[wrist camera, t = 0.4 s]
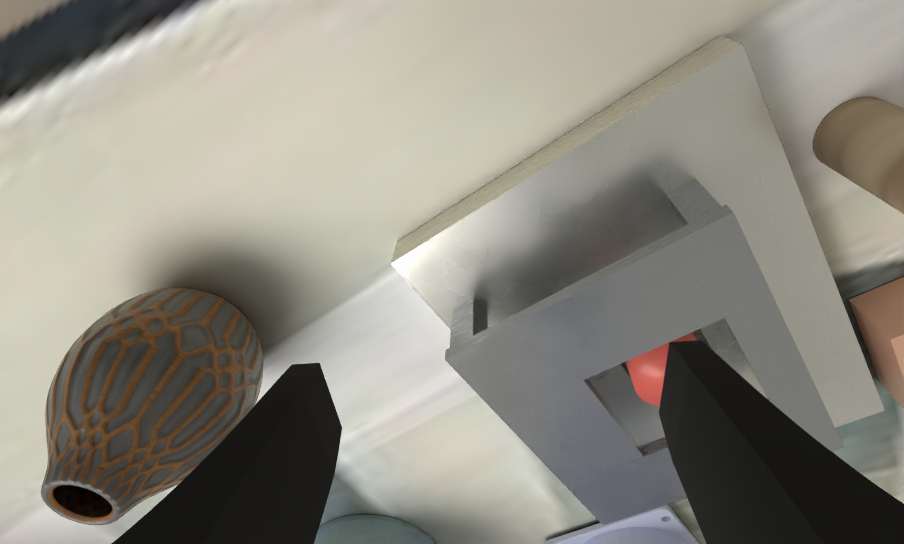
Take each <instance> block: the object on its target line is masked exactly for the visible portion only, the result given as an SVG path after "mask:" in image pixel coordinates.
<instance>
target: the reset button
mask: <svg viewBox="0 0 904 544" xmlns="http://www.w3.org/2000/svg"><path fill="white" fill-rule="evenodd" d="M696 340H697V339H696V337H695V335H694V334H693V332H691V333H689V334H687V335H685V336H682V337H680V338H678V339H676V340H673V341H671V342H679V341H696ZM668 348H669V343H667V344H664V345H662V346H660V347H657V348H655V349H653V350H651V351H648V352H646V353H644V354H642V355H639V356H637V357H635V358H633V359H630V360H628V361H626V362H625V363H626V366H627V368H628V371H629V374H630V377H631V380H632V382H633V385H634V388H635V391H636V393H637V395H638V396H639V397H640V398H641V399H642V400H643V401H645V402H647V403H649V404H652V405H656V406H660V401H661V394H662V388H663V381H664V374H665V368H666V361H667V354H668Z"/></svg>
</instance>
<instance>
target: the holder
mask: <svg viewBox="0 0 904 544" xmlns="http://www.w3.org/2000/svg"><path fill="white" fill-rule="evenodd" d="M849 302H850V305H851V308H852V310H853V313H854V316H855V318H856V321H857V324H858V326H859V329H860V332H861V334H862V337H863V339H864V342H865V345H866V347H867V350H868V353H869V355H870V358H871V361H872V363H873V366H874V368H875V371H876V374H877V376H878V379H879V382H880V383H881V384H882V385H883V386H884V387H885V388H886V389H887V390H888V391H889V392H890V394H891V395H892V396H893V397H894V398H895V399H896V400H897V401H898V402H899V403H900V404H901V406H902V407H903V408H904V277H902V278H899V279H897V280H894V281H892V282H890V283H887V284H885V285H882V286H880V287H878V288H875V289H873V290H871V291H868V292H866V293H863V294H861V295H859V296H856V297H854V298H851V299H849Z"/></svg>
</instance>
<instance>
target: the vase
mask: <svg viewBox="0 0 904 544" xmlns="http://www.w3.org/2000/svg"><path fill="white" fill-rule="evenodd" d="M262 378H263V353H262V347H261V343H260V340H259V338H258V336H257V334H256V331H255V329H254V328H253V326H252V324H251V323H250V322H249V320H248V319H247V318H246V317H245V316H244V315H243V313H242V312H241V311H240V310H238V309H237V308H236V307H235V306H234V305H232V304H231V303H229V302H228V301H226V300H224V299H223V298H221V297H219V296H216V295H214V294H211V293H208V292H204V291H200V290H195V289H188V288H168V289H159V290H155V291H151V292H148V293H144V294H141V295H139V296H136V297H134V298H132V299H130V300H127V301H125V302H123V303H122V304H120V305H118V306H116V307H115V308H113V309H111V310H110V311H108V312H107V313H106V314H104V315H103V316H102V317H101V318H99V319H98V320H97V321H96V322H95V323H93V324H92V325H91V326H90V327H89V328H88V329H87V330H86V331H85V332H84V333H83V334H82V335H81V336H80V337H79V338H78V339H77V340H76V341H75V343H74V344H73V345H72V347H71V348H70V349H69V351H68V352H67V354H66V355H65V357H64V359H63V360H62V362H61V364H60V366H59V368H58V370H57V372H56V374H55V376H54V378H53V381H52V383H51V386H50V389H49V393H48V397H47V402H46V411H45V418H46V437H47V448H48V465H47V470H46V474H45V478H44V481H43V485H42V489H41V495H42V498H43V500H44V502H45V503H46V504H47V505H48V506H49V507H50V508H51V509H52V510H53V511H55V512H56V513H58V514H59V515H61V516H63V517H65V518H67V519H70V520H72V521H75V522H79V523H83V524H89V525H104V524H109V523H112V522H114V521H116V520H118V519H119V518H121V517H122V516H123V515H124V514H126V513H127V512H128V511H129V510H131V509H132V508H133V507H135V506H136V505H137V504H139V503H140V502H142V501H144V500H145V499H147V498H149V497H151V496H154V495H156V494H158V493H160V492H163V491H165V490H167V489H169V488H171V487H173V486H176V485H178V484H180V483H181V482H182V481H183V480H184V479H185V478H186V477H187V476H188V475H189V474H190V473H191V472H192V471H193V470H194V469H195V468H196V467H197V466H198V465H199V464H200V463H201V462H202V461H203V460H204V459H205V458H206V457H207V456H208V455H209V454H210V453H211V452H212V451H213V450H214V449H215V448H216V447H217V446H218V445H219V444H220V443H221V442H222V441H223V439H224V438H225V437H226V436H227V435H228V434H229V433H230V432H231V431H232V430H233V429H234V428H235V427H236V425H237V424H238V423H239V422H240V421H241V420H242V419H243V418H244V417H245V416H246V415H247V414H248V412H249V411H250V410H251V409H252V408H253V407H254V406H255V403H256V401H257V398H258V395H259V392H260V388H261V383H262Z"/></svg>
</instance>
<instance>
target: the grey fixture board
mask: <svg viewBox="0 0 904 544" xmlns="http://www.w3.org/2000/svg"><path fill="white" fill-rule="evenodd" d="M391 264H392V265H393V267H394V268H395V269H396V270H397V271H398V272H399V273H400V274H401V275H402V276H403V278H404V279H405V280H406V281H407V282H408V283H409V284H410V285H411V286H412V287H413V289H414V290H415V291H416V292H417V293H418V294H419V295H420V296H421V297H422V298H423V300H424V301H425V302H426V303H427V304H428V305H429V306H430V307H431V308H432V309H433V311H434V312H435V313H436V314H437V315H438V316H439V317H440V318H441V319H442V320H443V322H444V323H445V324H446V325H447V326H448V327H449V328H450V329H451V340H450V348H449V349H447V350H446V354H445V360H446V361H447V362H448V363H449V364H450V365H451V366H452V367H453V368H454V370H455V371H456V372H457V373H458V374H459V375H460V376H461V377H462V378H463V379H464V380H465V381H466V382H467V383H468V384H469V385H470V386H471V387H472V388H473V389H474V391H475V392H476V393H477V394H478V395H479V396H480V397H481V398H482V399H483V400H484V401H485V402H486V403H487V404H488V405H489V406H490V407H491V408H492V409H493V410H494V411H495V413H496V414H497V415H498V416H499V417H500V418H501V419H502V420H503V421H504V422H505V423H506V424H507V425H508V426H509V427H510V428H511V429H512V430H513V431H514V432H515V433H516V435H517V436H518V437H519V438H520V439H521V440H522V441H523V442H524V443H525V444H526V445H527V446H528V447H529V448H530V449H531V450H532V451H533V452H534V453H535V454H536V456H537V457H538V458H539V459H540V460H541V461H542V462H543V463H544V464H545V465H546V466H547V467H548V468H549V469H550V470H551V471H552V472H553V473H554V474H555V475H556V476H557V478H558V479H559V480H560V481H561V482H562V483H563V484H564V485H565V486H566V487H567V488H568V489H569V490H570V491H571V492H572V493H573V494H574V495H575V496H576V497H577V499H578V500H579V501H580V502H581V503H582V504H583V505H584V506H585V507H586V508H587V509H588V510H589V511H590V512H591V513H592V514H593V515H594V516H595V517H596V518H597V519H598V521H599V522H600V523H601V524H602V525H606V524H609V523H612V522H615V521H619V520H622V519H625V518H628V517H631V516H634V515H637V514H640V513H643V512H646V511H649V510H652V509H655V508H658V507H662V506H665V505H668V504H671V503H674V502H677V501H680V500H683V499H686V498H687V496H686V493H685V491H684V488H683V486H682V483H681V481H680V479H679V476H678V474H677V471H676V469H675V466H674V464H673V462H672V458H671V455H670V452H669V448H668V445H667V441H666V438H665V434H664V431H663V427H662V423H661V420H660V416H659V408H660V406H656V405H652V404H649V403H647V402H645V401H643V400H642V399H641V398H640V397H639V396H638V395H637V393H636V391H635V388H634V385H633V382H632V380H631V377H630V374H629V371H628V368H627V366H626V363H625V362H626V361H628V360H630V359H633V358H635V357H637V356H639V355H642V354H644V353H646V352H648V351H651V350H653V349H655V348H657V347H660V346H662V345H664V344H667V343H669V342H671V341H673V340H676V339H678V338H680V337H682V336H685V335H687V334H689V333H691V332H693V334H694V335H695V337H696V339H697V340H702V341H703V342H704V343H705V344H706V345H707V346H708V347H710V348H711V349H712V350H713V351H714V352H715V353H716V354H717V355H719V356H720V357H721V358H722V359H723V360H724V361H725V362H726V363H727V364H729V365H730V366H731V367H732V368H733V369H734V370H735V371H736V372H737V373H739V374H740V375H741V376H742V377H743V378H744V379H745V380H746V381H747V382H749V383H750V384H751V385H752V386H753V387H754V388H755V389H756V390H758V391H759V392H760V393H761V394H762V395H763V396H764V397H766V398H767V399H768V400H769V401H770V402H771V403H772V404H774V405H775V406H776V407H777V408H778V409H780V410H781V411H782V412H783V413H784V414H786V415H787V416H788V417H789V418H790V419H792V420H793V421H794V422H795V423H796V424H797V425H799V426H800V427H801V428H802V429H803V430H805V431H806V432H807V433H808V434H810V435H811V436H812V437H813V438H815V439H816V440H817V441H818V442H820V443H821V444H822V445H824V446H825V447H826V448H827V449H829V450H830V451H834V450H837V449H840V448H843V447H844V446H843V444H842V441H841V439H840V437H839V435H838V433H837V431H836V429H835V427H838V426H841V425H844V424H847V423H850V422H853V421H856V420H859V419H862V418H865V417H868V416H871V415H873V414H876V413H879V412H882V411H885V410H884V407H883V405H882V402H881V400H880V397H879V394H878V392H877V389H876V387H875V384H874V382H873V379H872V376H871V374H870V371H869V369H868V366H867V363H866V361H865V358H864V356H863V353H862V351H861V348H860V345H859V343H858V340H857V338H856V335H855V332H854V330H853V327H852V325H851V322H850V320H849V317H848V314H847V312H846V309H845V307H844V304H843V301H842V299H841V296H840V294H839V291H838V289H837V286H836V283H835V281H834V278H833V276H832V273H831V270H830V268H829V265H828V263H827V260H826V258H825V255H824V252H823V250H822V247H821V245H820V242H819V239H818V237H817V234H816V232H815V229H814V227H813V224H812V221H811V219H810V216H809V214H808V211H807V208H806V206H805V203H804V201H803V198H802V196H801V193H800V190H799V188H798V185H797V183H796V180H795V177H794V175H793V172H792V170H791V167H790V165H789V162H788V159H787V157H786V154H785V152H784V149H783V146H782V144H781V141H780V139H779V136H778V134H777V131H776V128H775V126H774V123H773V121H772V118H771V115H770V113H769V110H768V108H767V105H766V103H765V100H764V97H763V95H762V92H761V90H760V87H759V84H758V82H757V79H756V77H755V74H754V72H753V69H752V66H751V64H750V61H749V59H748V56H747V53H746V51H745V48H744V46H743V44H741V43H739V42H736V41H733V40H731V39H728V38H725V37H723V36H719V37H717V38H715V39H714V40H712V41H711V42H709V43H708V44H706V45H704V46H703V47H701V48H700V49H698V50H697V51H695V52H694V53H692V54H690V55H689V56H687V57H686V58H684V59H683V60H681V61H679V62H678V63H676V64H675V65H673V66H672V67H670V68H669V69H667V70H665V71H664V72H662V73H661V74H659V75H658V76H656V77H654V78H653V79H651V80H650V81H648V82H647V83H645V84H643V85H642V86H640V87H639V88H637V89H636V90H634V91H633V92H631V93H629V94H628V95H626V96H625V97H623V98H622V99H620V100H618V101H617V102H615V103H614V104H612V105H611V106H609V107H608V108H606V109H604V110H603V111H601V112H600V113H598V114H597V115H595V116H593V117H592V118H590V119H589V120H587V121H586V122H584V123H582V124H581V125H579V126H578V127H576V128H575V129H573V130H572V131H570V132H568V133H567V134H565V135H564V136H562V137H561V138H559V139H557V140H556V141H554V142H553V143H551V144H550V145H548V146H547V147H545V148H543V149H542V150H540V151H539V152H537V153H536V154H534V155H532V156H531V157H529V158H528V159H526V160H525V161H523V162H521V163H520V164H518V165H517V166H515V167H514V168H512V169H511V170H509V171H507V172H506V173H504V174H503V175H501V176H500V177H498V178H496V179H495V180H493V181H492V182H490V183H489V184H487V185H486V186H484V187H482V188H481V189H479V190H478V191H476V192H475V193H473V194H471V195H470V196H468V197H467V198H465V199H464V200H462V201H460V202H459V203H457V204H456V205H454V206H453V207H451V208H450V209H448V210H446V211H445V212H443V213H442V214H440V215H439V216H437V217H435V218H434V219H432V220H431V221H429V222H428V223H426V224H425V225H423V226H421V227H420V228H418V229H417V230H415V231H414V232H412V233H410V234H409V235H407V236H406V237H404V238H403V239H401V240H399V241H398V242H397V243H396V246H395V250H394V254H393V257H392V261H391Z"/></svg>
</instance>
